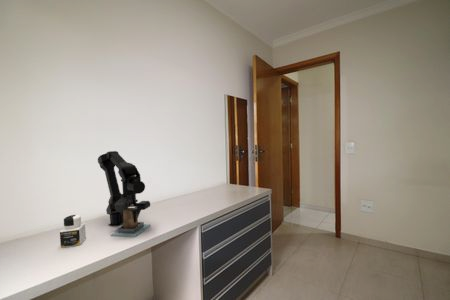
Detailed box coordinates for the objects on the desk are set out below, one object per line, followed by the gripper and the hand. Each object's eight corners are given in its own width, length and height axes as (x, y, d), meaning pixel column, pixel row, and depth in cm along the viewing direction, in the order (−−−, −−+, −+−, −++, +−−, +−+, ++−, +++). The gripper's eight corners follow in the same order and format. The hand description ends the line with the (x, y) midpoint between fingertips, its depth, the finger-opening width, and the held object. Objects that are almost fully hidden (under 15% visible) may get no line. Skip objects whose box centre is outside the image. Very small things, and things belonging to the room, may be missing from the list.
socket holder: (110, 236, 97) (110, 230, 96) (127, 224, 109) (127, 220, 109) (135, 236, 95) (135, 231, 94) (150, 225, 107) (150, 220, 107)
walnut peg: (124, 229, 100) (123, 210, 100) (129, 225, 105) (128, 207, 104) (132, 229, 99) (131, 210, 99) (137, 225, 104) (137, 207, 104)
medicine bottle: (60, 248, 87) (58, 220, 86) (68, 240, 93) (66, 214, 93) (80, 245, 89) (78, 217, 88) (86, 238, 95) (84, 212, 95)
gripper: (99, 195, 95) (101, 228, 95) (137, 195, 92) (139, 229, 93) (116, 189, 106) (117, 219, 106) (150, 189, 103) (151, 220, 104)
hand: (130, 222), depth 102 cm, fingers closed on walnut peg, 4 cm apart
